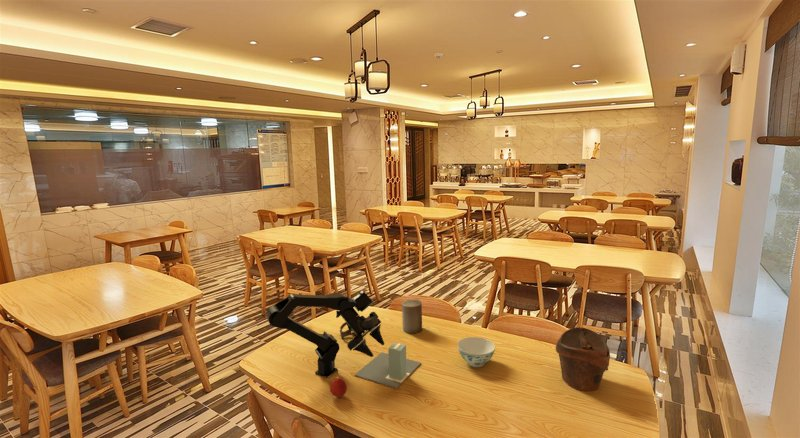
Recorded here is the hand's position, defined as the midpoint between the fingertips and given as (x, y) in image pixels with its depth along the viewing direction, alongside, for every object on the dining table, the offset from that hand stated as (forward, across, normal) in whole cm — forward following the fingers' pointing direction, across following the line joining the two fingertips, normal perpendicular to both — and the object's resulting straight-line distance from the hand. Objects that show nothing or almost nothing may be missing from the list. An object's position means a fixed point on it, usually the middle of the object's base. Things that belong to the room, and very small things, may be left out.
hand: (378, 350), depth 157 cm
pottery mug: (-11, +22, +27) cm, 36 cm away
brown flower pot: (+57, +21, -47) cm, 77 cm away
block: (+12, -2, -2) cm, 12 cm away
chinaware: (+30, +20, -18) cm, 41 cm away
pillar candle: (+6, +39, +9) cm, 40 cm away
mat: (+9, +1, +3) cm, 9 cm away
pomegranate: (+2, -22, +8) cm, 24 cm away
